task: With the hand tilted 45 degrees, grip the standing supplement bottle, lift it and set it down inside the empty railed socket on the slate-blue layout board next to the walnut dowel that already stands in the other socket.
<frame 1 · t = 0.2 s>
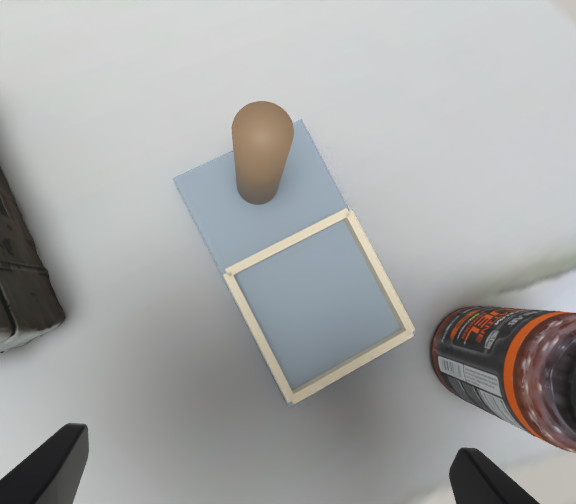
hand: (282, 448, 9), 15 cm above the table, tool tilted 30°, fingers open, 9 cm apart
layout board: (293, 259, 25), on the table
supplement bottle: (470, 351, 25), on the table
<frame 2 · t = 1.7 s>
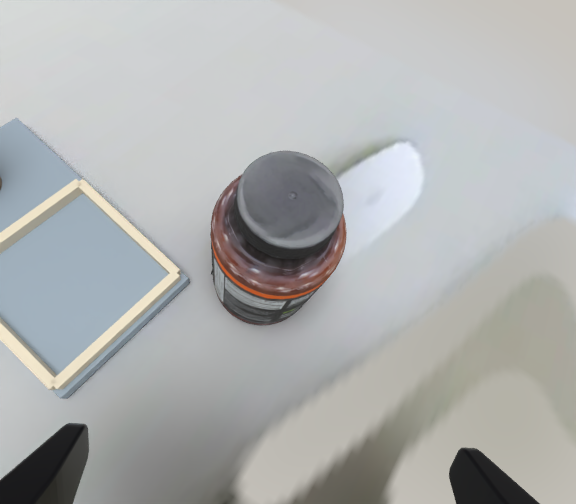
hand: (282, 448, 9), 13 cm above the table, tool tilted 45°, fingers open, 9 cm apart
layout board: (43, 249, 23), on the table
supplement bottle: (260, 280, 25), on the table
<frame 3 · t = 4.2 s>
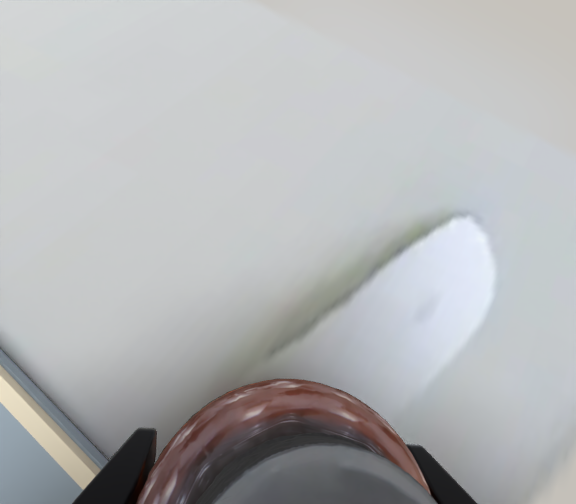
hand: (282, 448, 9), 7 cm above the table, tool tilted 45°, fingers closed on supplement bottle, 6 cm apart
supplement bottle: (253, 469, 15), on the table, touching gripper
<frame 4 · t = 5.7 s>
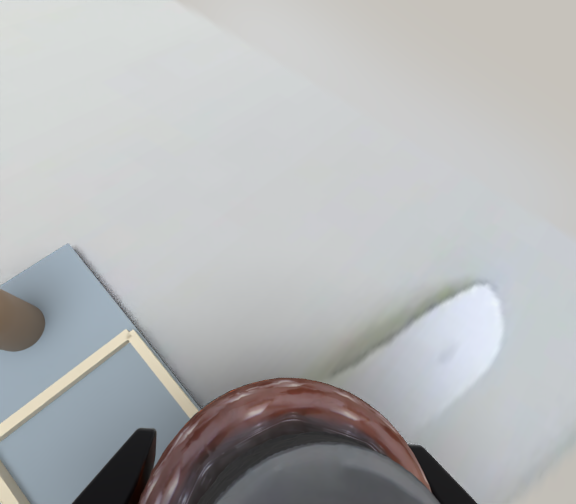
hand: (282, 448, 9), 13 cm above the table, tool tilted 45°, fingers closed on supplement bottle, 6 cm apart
layout board: (81, 402, 21), on the table
supplement bottle: (254, 467, 15), point 6 cm above the table, touching gripper
when the fingers open (8 cm above the table, at t = 7.7 s): supplement bottle stays where it is, resting on layout board.
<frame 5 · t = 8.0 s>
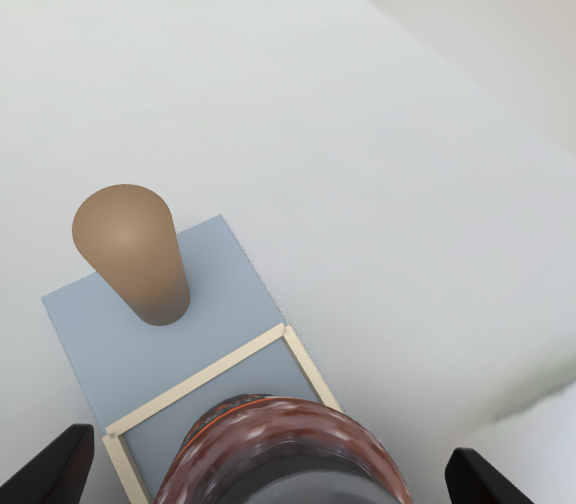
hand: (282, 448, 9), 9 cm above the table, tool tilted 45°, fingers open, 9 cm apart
layout board: (215, 398, 18), on the table
supplement bottle: (249, 469, 16), point 1 cm above the table, touching layout board
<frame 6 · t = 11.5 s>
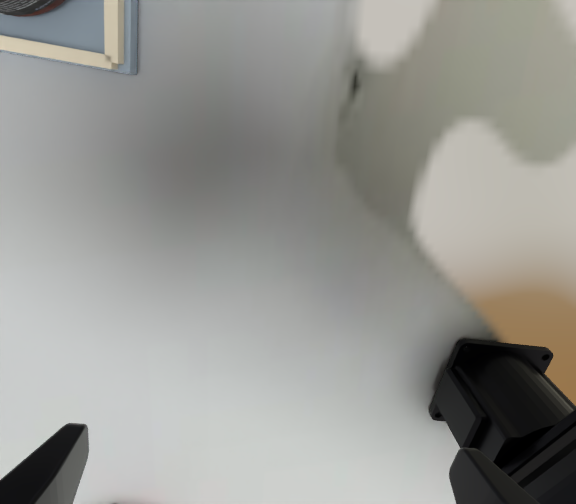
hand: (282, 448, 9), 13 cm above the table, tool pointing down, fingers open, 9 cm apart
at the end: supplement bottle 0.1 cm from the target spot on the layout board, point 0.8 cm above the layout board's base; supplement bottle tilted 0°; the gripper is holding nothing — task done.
